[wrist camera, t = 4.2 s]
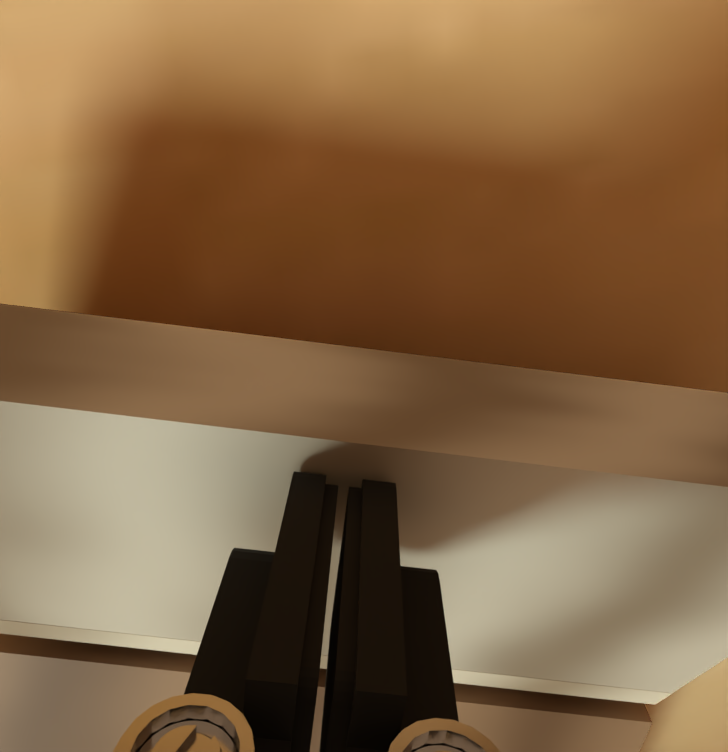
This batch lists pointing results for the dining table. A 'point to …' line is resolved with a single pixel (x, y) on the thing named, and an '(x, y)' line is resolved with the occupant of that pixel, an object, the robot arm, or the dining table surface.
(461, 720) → the laid board
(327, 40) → the dining table surface
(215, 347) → the board
